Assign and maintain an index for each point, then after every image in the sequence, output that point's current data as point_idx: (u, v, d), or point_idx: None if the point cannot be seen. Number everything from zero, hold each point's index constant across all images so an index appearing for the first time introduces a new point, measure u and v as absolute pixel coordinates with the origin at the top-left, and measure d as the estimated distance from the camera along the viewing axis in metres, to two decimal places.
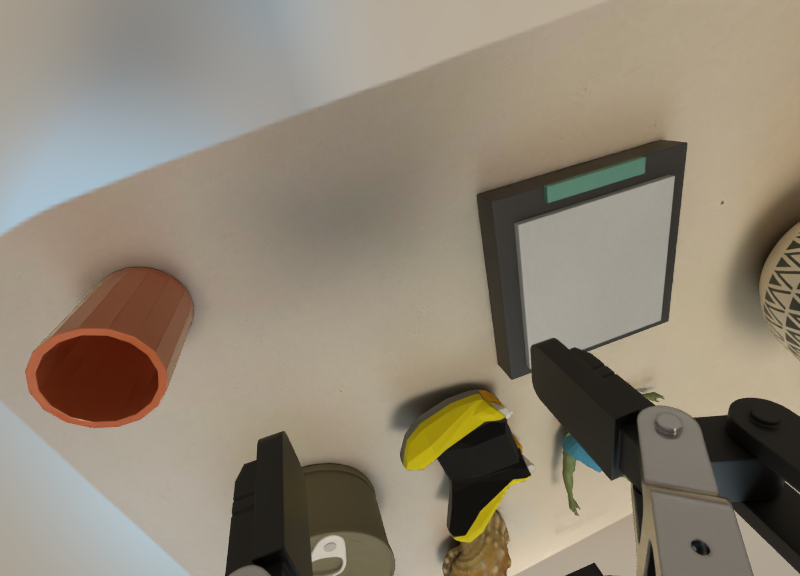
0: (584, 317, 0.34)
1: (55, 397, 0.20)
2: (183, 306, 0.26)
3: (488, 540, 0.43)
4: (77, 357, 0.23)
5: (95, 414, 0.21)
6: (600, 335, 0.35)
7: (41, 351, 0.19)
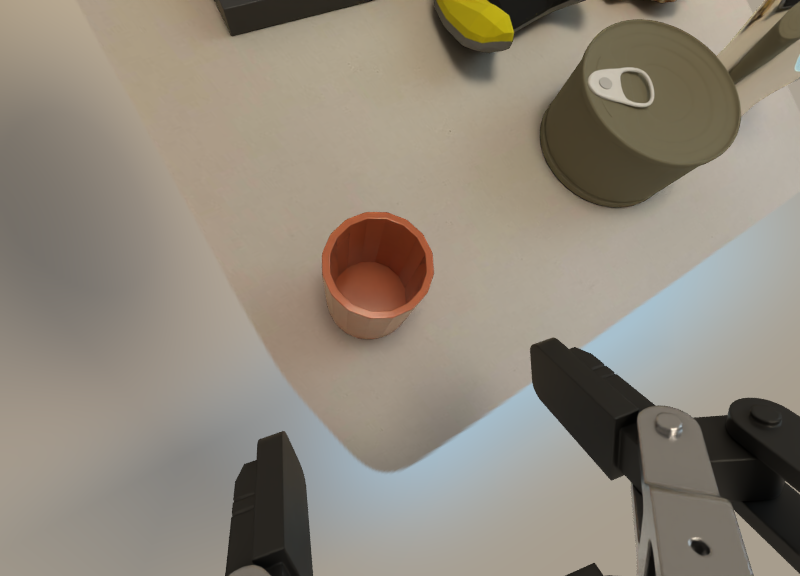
0: None
1: None
2: None
3: None
4: None
5: (424, 275, 0.22)
6: None
7: (347, 304, 0.21)
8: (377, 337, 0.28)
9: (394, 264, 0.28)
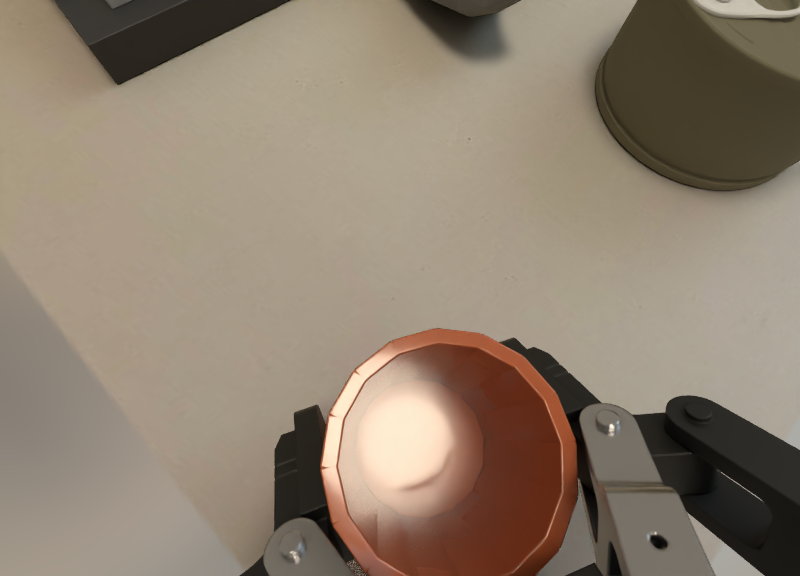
0: None
1: (533, 533, 0.09)
2: None
3: None
4: (487, 518, 0.12)
5: (550, 446, 0.10)
6: None
7: None
8: None
9: (450, 383, 0.16)
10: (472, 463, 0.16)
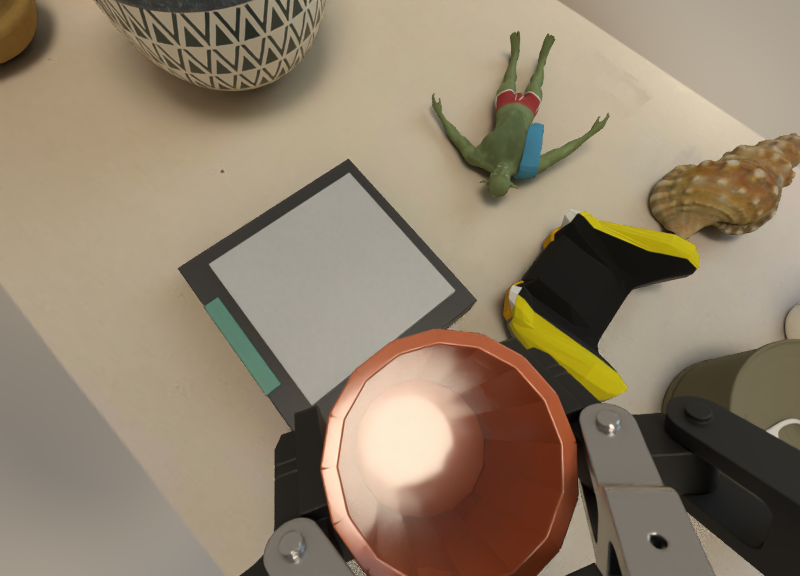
0: (377, 264, 0.31)
1: (533, 533, 0.09)
2: None
3: (688, 200, 0.34)
4: (487, 518, 0.12)
5: (550, 446, 0.10)
6: (389, 232, 0.32)
7: None
8: None
9: (450, 383, 0.16)
10: (472, 463, 0.16)
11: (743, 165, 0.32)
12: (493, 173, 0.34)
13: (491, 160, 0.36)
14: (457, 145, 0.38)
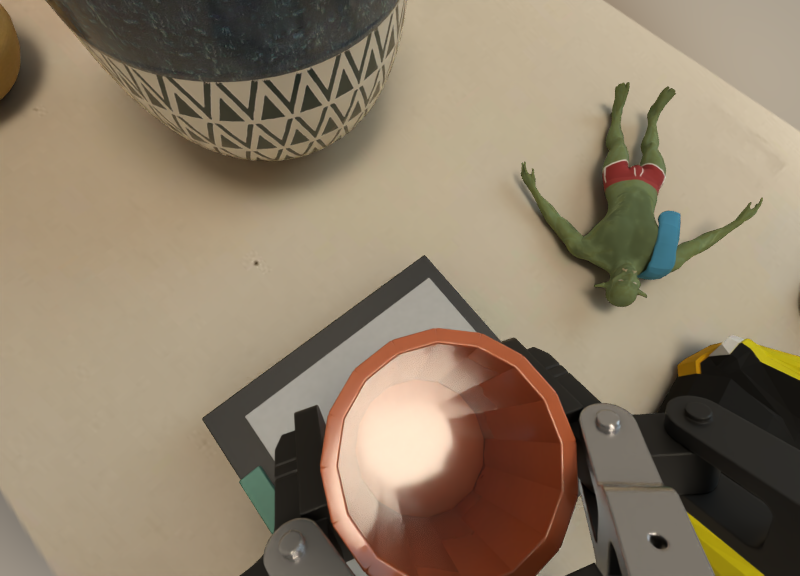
0: None
1: (533, 533, 0.09)
2: None
3: None
4: (487, 517, 0.12)
5: (550, 446, 0.10)
6: None
7: None
8: None
9: (450, 382, 0.16)
10: (472, 463, 0.16)
11: None
12: (617, 279, 0.26)
13: (608, 256, 0.27)
14: (556, 230, 0.29)
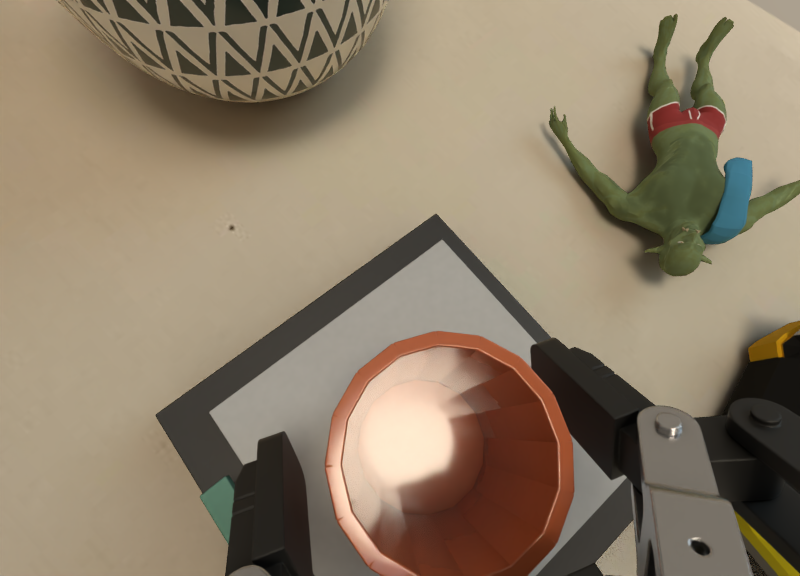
0: None
1: (530, 529, 0.10)
2: None
3: None
4: (487, 515, 0.12)
5: (547, 445, 0.10)
6: (517, 347, 0.19)
7: None
8: None
9: (451, 383, 0.16)
10: (472, 461, 0.16)
11: None
12: (676, 240, 0.21)
13: (660, 215, 0.22)
14: (594, 187, 0.24)
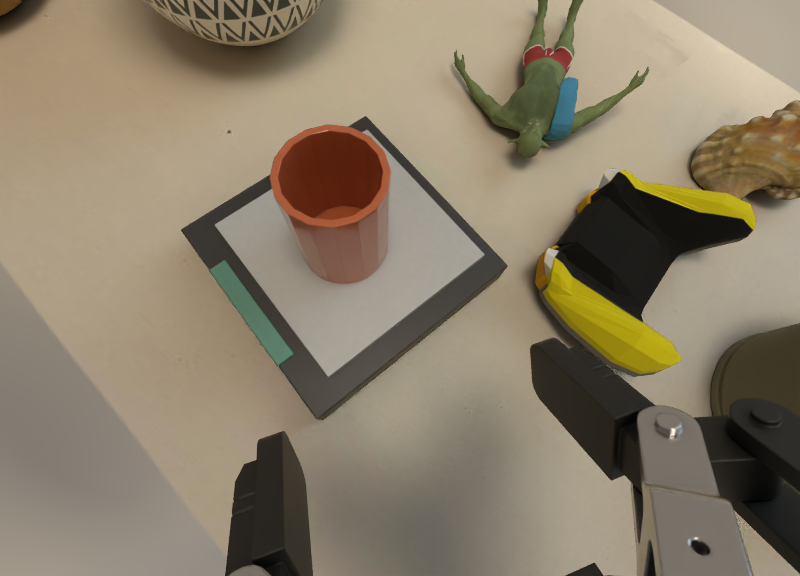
0: (398, 226, 0.28)
1: None
2: None
3: (736, 161, 0.31)
4: None
5: None
6: (411, 191, 0.29)
7: (306, 218, 0.19)
8: (361, 275, 0.26)
9: (360, 198, 0.27)
10: None
11: None
12: (523, 131, 0.31)
13: (520, 119, 0.33)
14: (482, 105, 0.35)
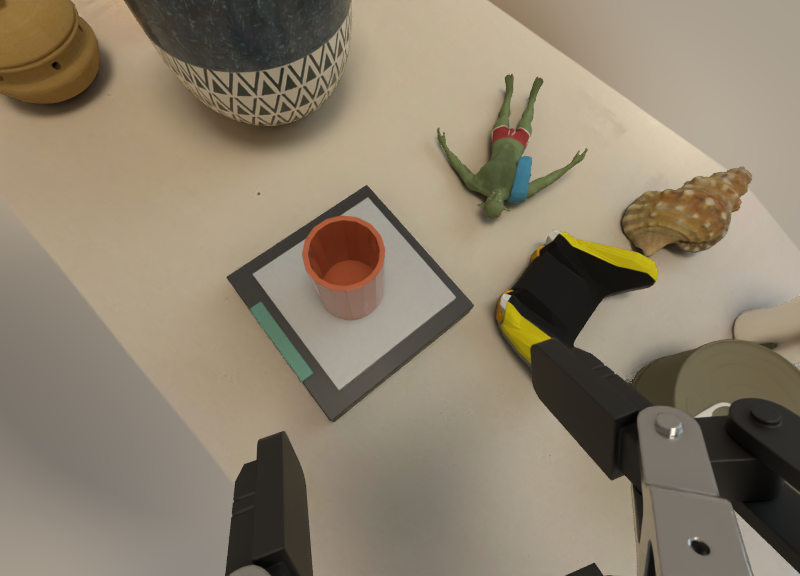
0: (391, 275, 0.37)
1: None
2: None
3: (652, 222, 0.41)
4: None
5: None
6: (401, 248, 0.38)
7: (327, 285, 0.28)
8: (363, 315, 0.35)
9: (363, 256, 0.36)
10: None
11: (697, 194, 0.39)
12: (489, 198, 0.40)
13: (487, 186, 0.42)
14: (458, 172, 0.44)
